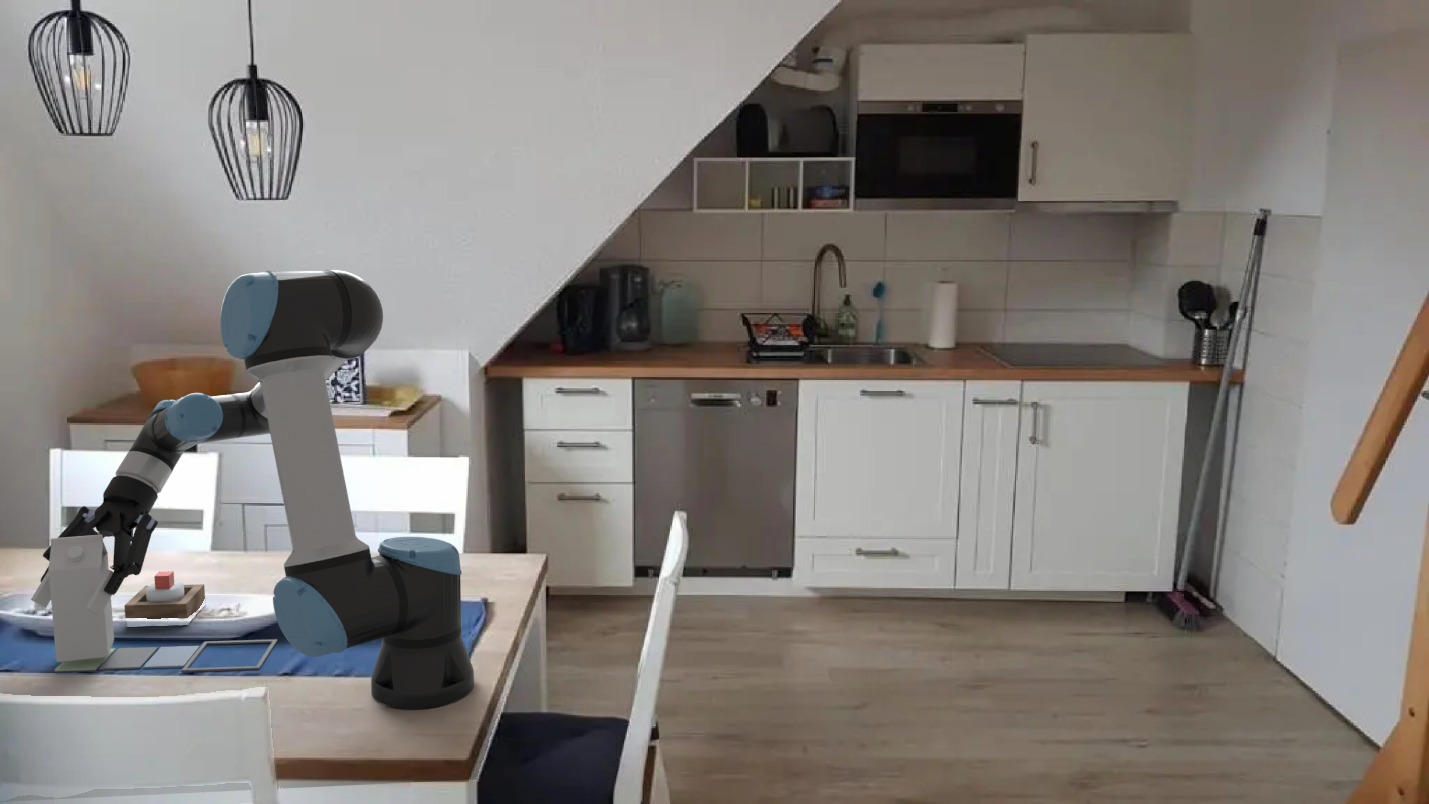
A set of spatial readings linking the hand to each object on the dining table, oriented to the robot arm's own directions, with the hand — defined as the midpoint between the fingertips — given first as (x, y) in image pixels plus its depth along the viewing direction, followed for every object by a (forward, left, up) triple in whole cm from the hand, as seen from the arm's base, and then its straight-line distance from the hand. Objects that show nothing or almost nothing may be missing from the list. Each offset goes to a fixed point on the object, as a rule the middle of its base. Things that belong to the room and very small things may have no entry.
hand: (65, 607), depth 173 cm
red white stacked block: (+22, -7, -9) cm, 25 cm away
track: (+3, -14, -10) cm, 17 cm away
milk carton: (+3, -1, -9) cm, 9 cm away
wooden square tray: (+22, -7, -10) cm, 25 cm away
